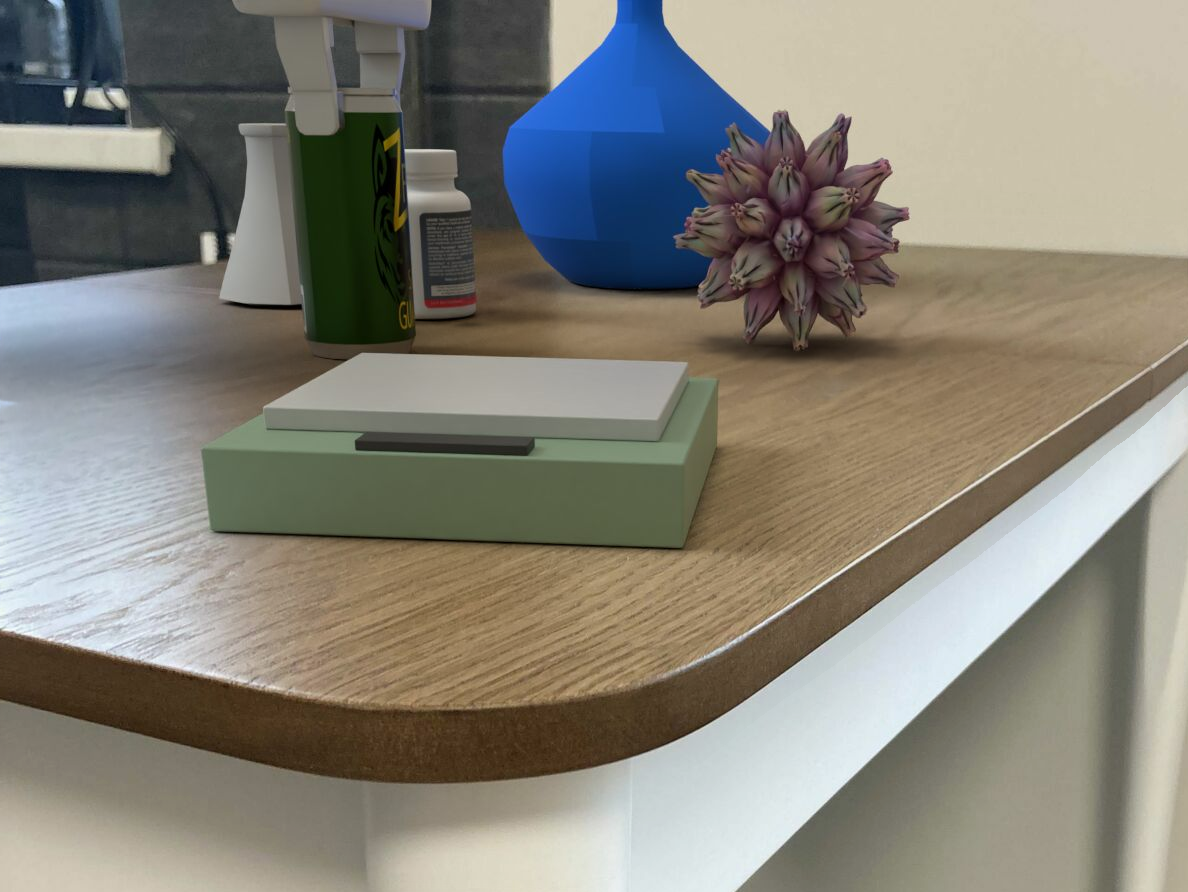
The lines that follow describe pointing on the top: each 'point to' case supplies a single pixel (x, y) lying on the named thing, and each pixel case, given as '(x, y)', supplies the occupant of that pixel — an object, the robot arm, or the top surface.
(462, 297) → the pill bottle
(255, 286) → the flask
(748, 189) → the flower
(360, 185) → the beer can
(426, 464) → the scale
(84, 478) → the top surface
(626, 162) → the vase
